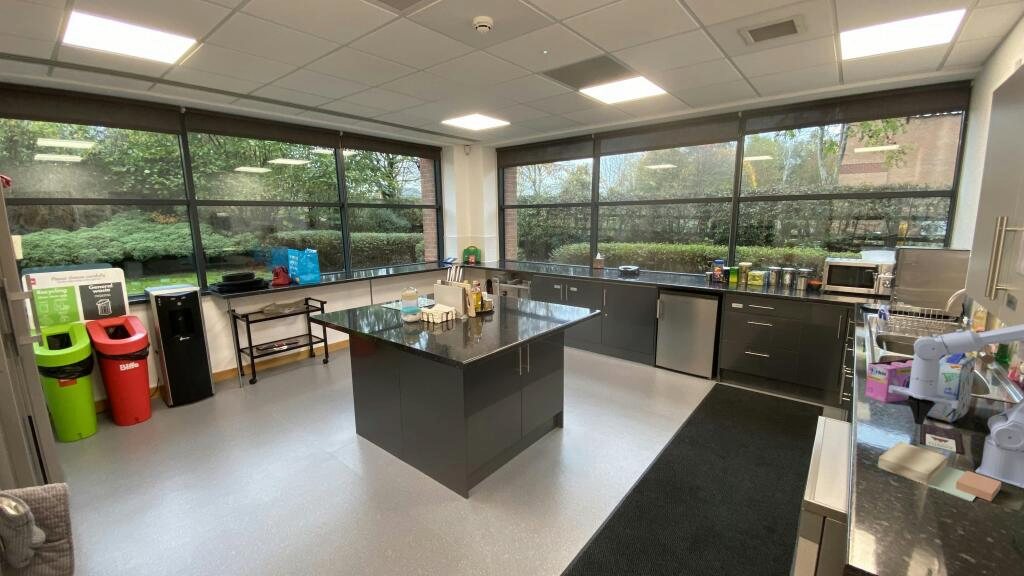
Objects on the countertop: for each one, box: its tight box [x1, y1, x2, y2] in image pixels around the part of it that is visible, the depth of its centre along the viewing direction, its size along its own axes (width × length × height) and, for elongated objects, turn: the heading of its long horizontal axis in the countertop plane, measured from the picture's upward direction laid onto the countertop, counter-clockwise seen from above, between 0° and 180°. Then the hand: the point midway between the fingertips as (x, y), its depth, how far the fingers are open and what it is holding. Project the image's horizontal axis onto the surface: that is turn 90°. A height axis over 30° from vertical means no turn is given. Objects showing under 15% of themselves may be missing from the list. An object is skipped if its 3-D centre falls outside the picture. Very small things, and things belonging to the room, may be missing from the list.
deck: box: [877, 441, 949, 486], centre depth 116 cm, size 10×16×3 cm, turn 121°
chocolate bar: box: [919, 423, 963, 456], centre depth 131 cm, size 9×1×18 cm
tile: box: [956, 470, 1002, 502], centre depth 105 cm, size 6×9×2 cm, turn 121°
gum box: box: [864, 358, 914, 404], centre depth 164 cm, size 24×8×14 cm, turn 103°
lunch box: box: [926, 353, 976, 423], centre depth 147 cm, size 28×10×22 cm, turn 126°
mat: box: [926, 465, 977, 503], centre depth 108 cm, size 8×16×1 cm, turn 121°
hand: (918, 423), depth 122 cm, fingers closed
